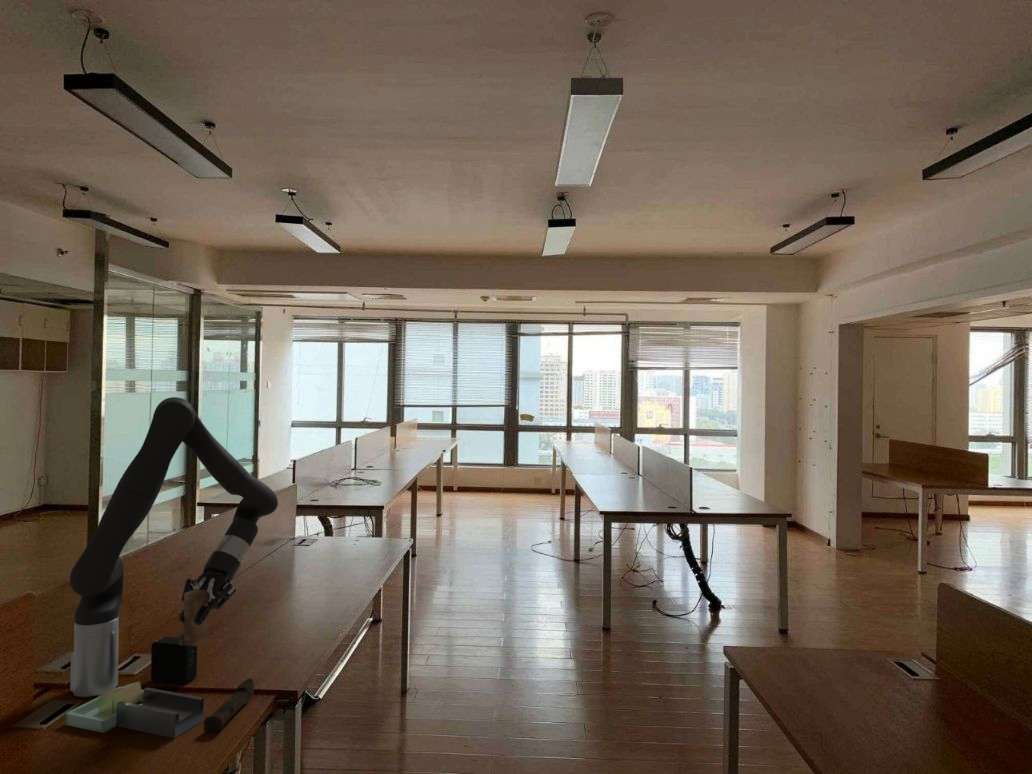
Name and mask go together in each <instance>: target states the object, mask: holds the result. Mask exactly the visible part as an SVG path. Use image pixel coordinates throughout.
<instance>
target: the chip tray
mask: <svg viewBox="0 0 1032 774" xmlns="http://www.w3.org/2000/svg"><path fill="white" fill-rule="evenodd" d="M124 686H125V685H120V686H117V687H116V688H115V689H120V688H122V687H124ZM142 693H143V689H142ZM64 715H65V716H64V717H65V722H64V723H65V726H70V727H75V728H79V729H83V730H88V731H93V732H97V733H103V734H105V733H106V732H108V731H110V730H113V729H114V728H116V727H117V726H116V713H115V714H113V715H111V716H107V715H102V714H98V697H96V698H94V699H92V700H89V701H88V702H86V703H84V704H82V705H79V706H78V707H76V708H74V709H71V710H70V711H67V712H66V713H65V714H64Z"/></svg>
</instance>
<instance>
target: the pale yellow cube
mask: <svg viewBox="0 0 1032 774" xmlns="http://www.w3.org/2000/svg"><path fill="white" fill-rule="evenodd" d="M141 685H142V684H141V682H140V681H137V682H133V683H130V684H126V685H123V686H124V687H122V688H120V689H118V690H116V691H114V692H112V693H111V694H112V698H113V702H114V706H115V710H117V703H118V702H120V701H122V702H127V703H132V704H135V703H137V702H139V701H141V700H143V699H144V697H143V693H142V690H143V689H142V686H141Z"/></svg>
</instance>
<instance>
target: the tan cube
mask: <svg viewBox="0 0 1032 774" xmlns="http://www.w3.org/2000/svg"><path fill="white" fill-rule="evenodd" d="M116 690H118V689H116V688H113V689H111V690H109V691H107V692H105V693H103V694H101V695H97V698H98V714H102V715H107V716H111V715H113V714H115V713H117V710H115V706H114V702H113V698H112V694H111V693H112V692H114V691H116Z"/></svg>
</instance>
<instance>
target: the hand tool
mask: <svg viewBox="0 0 1032 774" xmlns="http://www.w3.org/2000/svg"><path fill="white" fill-rule="evenodd" d="M254 685H255V684H254V679H253V678H247V679H245V680H244V681H242V682H241V683H240V684H239V685H237V687H236V691H235V692H234V693H233V695H231V696H230V697H229V698H228V699H227V700H226V701H225V702H224V703H223V704H222V705H220V706H219V707H218V708H217V709H216V710H215V711H214V712H213V713H212V714H211V715H209V716H206V717H205V718H204V720H203V730H204V732H205V733H206V734H214V735H215V734H219V733H221V731H222V730H223V729H224V726H225V724H227V723H228V721H229V720H230V719H232V717H233V716H235V715H236V714H237V712H238V711H239V710H240V709H242V707H243V706H246V705H248V704H249V703H250V701H251V700H252V697H253V695H254V692H255V690H254V688H255V686H254Z"/></svg>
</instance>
